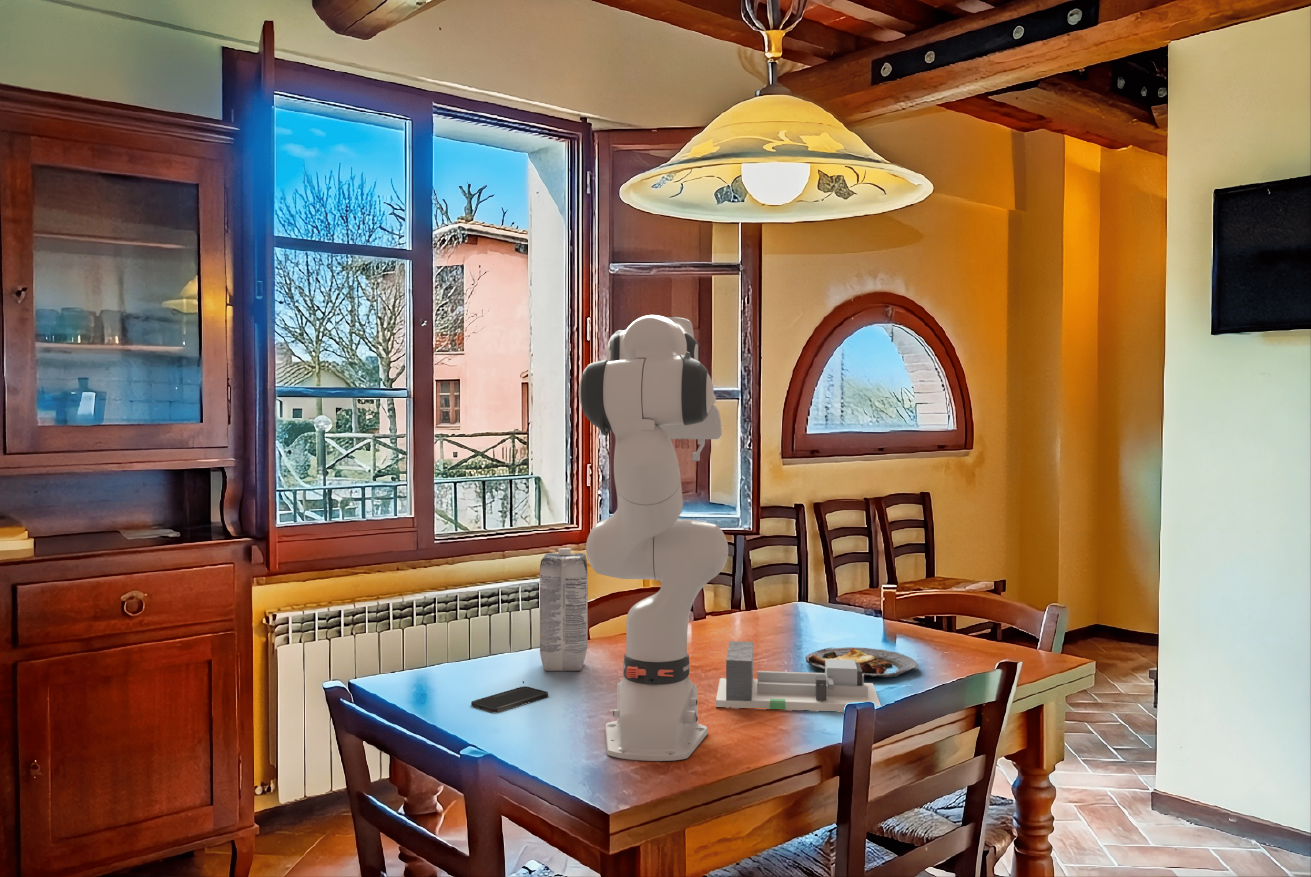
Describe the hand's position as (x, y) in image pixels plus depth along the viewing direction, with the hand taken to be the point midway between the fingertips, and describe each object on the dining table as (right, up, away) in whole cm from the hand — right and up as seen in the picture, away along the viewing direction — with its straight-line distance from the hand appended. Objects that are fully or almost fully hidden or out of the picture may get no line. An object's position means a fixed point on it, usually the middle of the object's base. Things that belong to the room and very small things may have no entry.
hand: (673, 460), depth 211 cm
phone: (-33, -49, -10) cm, 60 cm away
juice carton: (-25, -48, +16) cm, 56 cm away
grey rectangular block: (+13, -47, -7) cm, 49 cm away
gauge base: (+25, -48, -8) cm, 55 cm away
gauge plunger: (+34, -47, -9) cm, 59 cm away
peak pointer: (+29, -47, -14) cm, 57 cm away
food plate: (+43, -48, +16) cm, 66 cm away
